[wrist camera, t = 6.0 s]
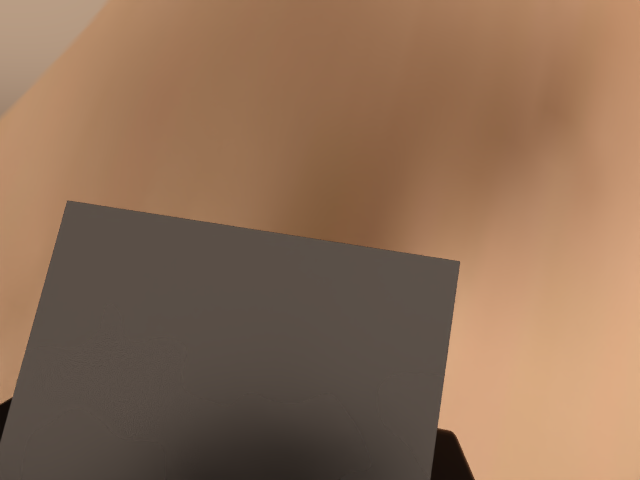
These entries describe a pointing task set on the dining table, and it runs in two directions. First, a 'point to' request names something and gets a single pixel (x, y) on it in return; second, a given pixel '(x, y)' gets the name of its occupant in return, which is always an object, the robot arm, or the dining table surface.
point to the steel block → (228, 356)
